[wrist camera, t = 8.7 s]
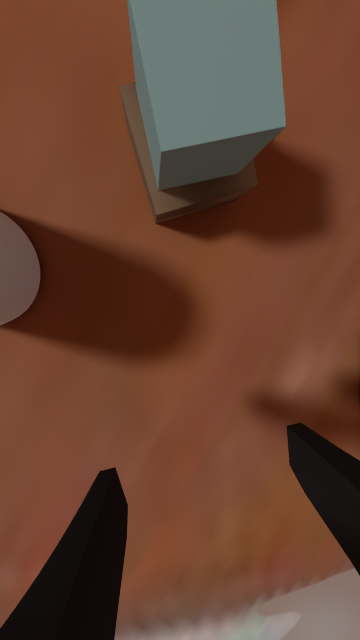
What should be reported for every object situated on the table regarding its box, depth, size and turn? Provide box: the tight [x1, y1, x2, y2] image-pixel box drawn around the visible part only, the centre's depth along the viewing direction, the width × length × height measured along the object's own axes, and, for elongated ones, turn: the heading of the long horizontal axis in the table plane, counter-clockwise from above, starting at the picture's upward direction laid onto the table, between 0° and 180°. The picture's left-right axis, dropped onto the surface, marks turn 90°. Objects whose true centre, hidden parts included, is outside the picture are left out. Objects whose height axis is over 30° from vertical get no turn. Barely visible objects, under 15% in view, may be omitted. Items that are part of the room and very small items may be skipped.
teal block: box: [127, 0, 286, 190], centre depth 10 cm, size 4×4×5 cm
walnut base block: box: [119, 82, 259, 224], centre depth 14 cm, size 6×6×4 cm
